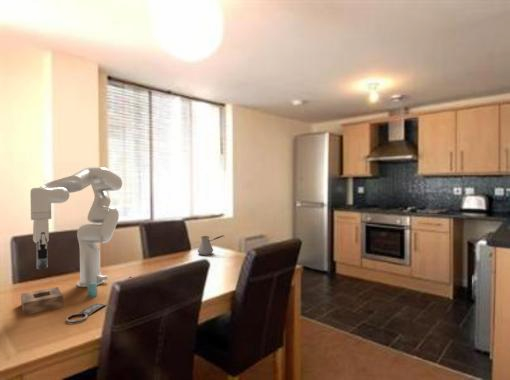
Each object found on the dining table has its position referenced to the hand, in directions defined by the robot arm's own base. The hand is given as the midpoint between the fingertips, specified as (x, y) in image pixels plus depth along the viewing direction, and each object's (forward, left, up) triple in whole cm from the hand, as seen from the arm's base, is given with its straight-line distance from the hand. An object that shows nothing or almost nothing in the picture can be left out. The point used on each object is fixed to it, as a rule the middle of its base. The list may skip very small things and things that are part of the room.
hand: (41, 257), depth 143 cm
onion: (-35, -11, -22) cm, 42 cm away
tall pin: (0, 0, -5) cm, 5 cm away
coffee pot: (-77, -84, -22) cm, 116 cm away
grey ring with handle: (-22, +12, -22) cm, 34 cm away
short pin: (-18, -9, -22) cm, 29 cm away
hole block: (0, 0, -22) cm, 22 cm away
